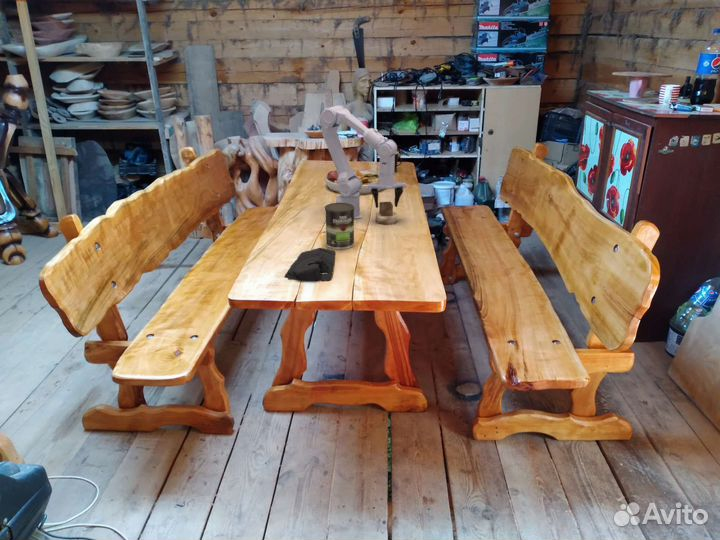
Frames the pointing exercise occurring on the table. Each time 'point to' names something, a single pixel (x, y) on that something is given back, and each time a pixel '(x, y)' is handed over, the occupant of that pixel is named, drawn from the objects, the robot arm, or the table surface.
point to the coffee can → (339, 225)
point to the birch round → (386, 219)
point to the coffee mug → (396, 160)
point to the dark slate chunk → (313, 266)
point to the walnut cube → (386, 209)
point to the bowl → (363, 175)
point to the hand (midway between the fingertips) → (386, 206)
